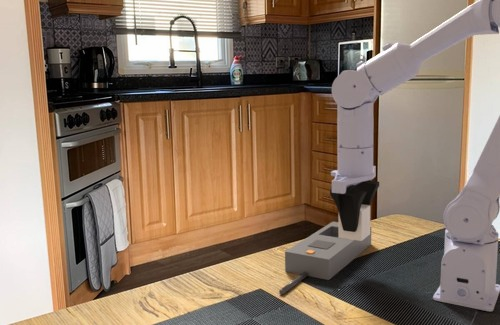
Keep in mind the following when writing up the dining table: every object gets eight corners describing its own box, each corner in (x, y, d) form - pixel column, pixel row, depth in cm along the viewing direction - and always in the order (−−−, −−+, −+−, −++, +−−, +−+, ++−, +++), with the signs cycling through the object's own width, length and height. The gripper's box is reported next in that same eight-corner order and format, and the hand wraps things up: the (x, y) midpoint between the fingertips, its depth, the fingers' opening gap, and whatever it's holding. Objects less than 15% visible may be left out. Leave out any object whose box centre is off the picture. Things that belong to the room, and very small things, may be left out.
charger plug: (361, 241, 82) (361, 211, 82) (338, 237, 85) (338, 208, 84) (370, 234, 86) (370, 205, 85) (347, 231, 88) (347, 202, 87)
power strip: (304, 300, 75) (304, 277, 74) (258, 290, 79) (257, 267, 79) (371, 244, 99) (371, 225, 98) (332, 238, 103) (332, 220, 103)
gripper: (348, 139, 91) (348, 213, 93) (313, 150, 79) (314, 235, 81) (387, 141, 87) (386, 218, 89) (356, 153, 75) (356, 242, 77)
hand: (354, 227), depth 85 cm, fingers closed on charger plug, 4 cm apart
